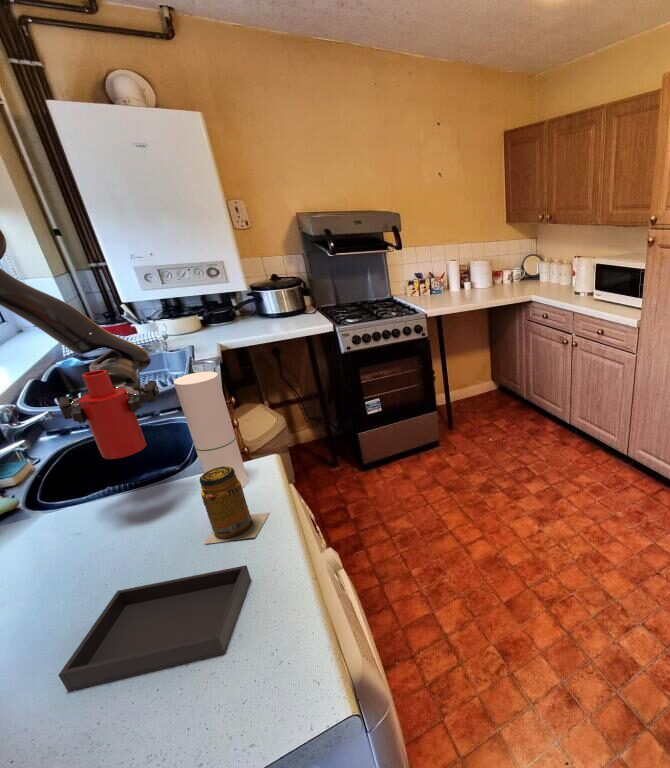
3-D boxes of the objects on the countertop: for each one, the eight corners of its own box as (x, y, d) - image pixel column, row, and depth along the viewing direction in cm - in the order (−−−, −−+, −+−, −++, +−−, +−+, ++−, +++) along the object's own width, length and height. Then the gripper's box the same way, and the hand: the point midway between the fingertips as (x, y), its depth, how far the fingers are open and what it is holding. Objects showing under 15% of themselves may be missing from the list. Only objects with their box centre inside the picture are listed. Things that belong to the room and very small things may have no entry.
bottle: (94, 461, 76) (60, 381, 70) (113, 444, 81) (83, 369, 76) (136, 456, 77) (106, 377, 72) (152, 439, 83) (125, 365, 77)
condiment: (222, 518, 84) (205, 464, 80) (269, 513, 85) (255, 460, 81) (204, 545, 77) (184, 488, 73) (255, 538, 78) (238, 482, 74)
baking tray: (67, 692, 54) (57, 675, 52) (124, 605, 65) (117, 590, 64) (224, 654, 58) (218, 638, 57) (251, 579, 70) (246, 564, 68)
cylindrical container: (242, 473, 99) (212, 369, 90) (252, 485, 94) (221, 377, 85) (206, 486, 94) (170, 378, 85) (214, 500, 89) (177, 387, 80)
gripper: (58, 374, 82) (39, 403, 69) (154, 359, 90) (152, 382, 77) (73, 411, 84) (57, 444, 72) (165, 393, 92) (165, 420, 80)
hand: (107, 412), depth 75 cm, fingers closed on bottle, 6 cm apart
